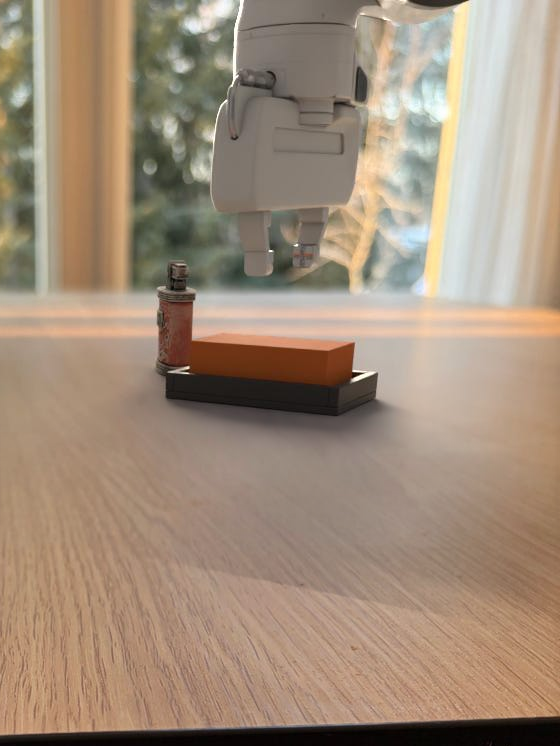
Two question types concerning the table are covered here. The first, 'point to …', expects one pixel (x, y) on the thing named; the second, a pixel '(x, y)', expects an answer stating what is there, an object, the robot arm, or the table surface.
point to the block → (273, 358)
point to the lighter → (174, 319)
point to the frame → (273, 392)
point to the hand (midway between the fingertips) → (282, 271)
